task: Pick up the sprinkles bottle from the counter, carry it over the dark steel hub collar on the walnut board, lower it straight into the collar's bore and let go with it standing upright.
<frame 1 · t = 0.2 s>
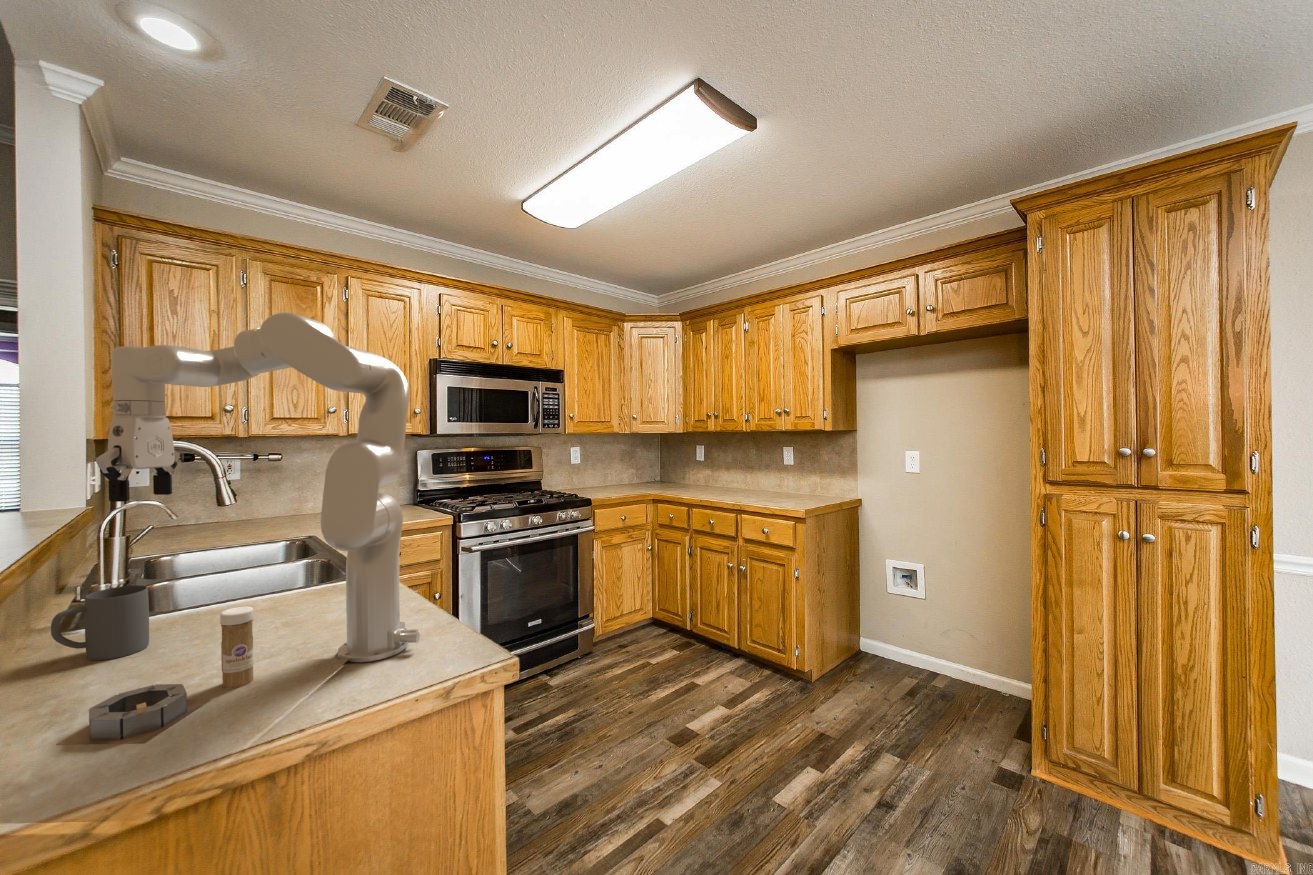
hand: (142, 497, 108), 31 cm above the counter, tool pointing down, fingers open, 9 cm apart
sprinkles bottle: (238, 687, 95), on the counter
walnut board: (139, 725, 83), on the counter
mug: (103, 656, 108), on the counter
hub collar: (139, 720, 83), resting on walnut board
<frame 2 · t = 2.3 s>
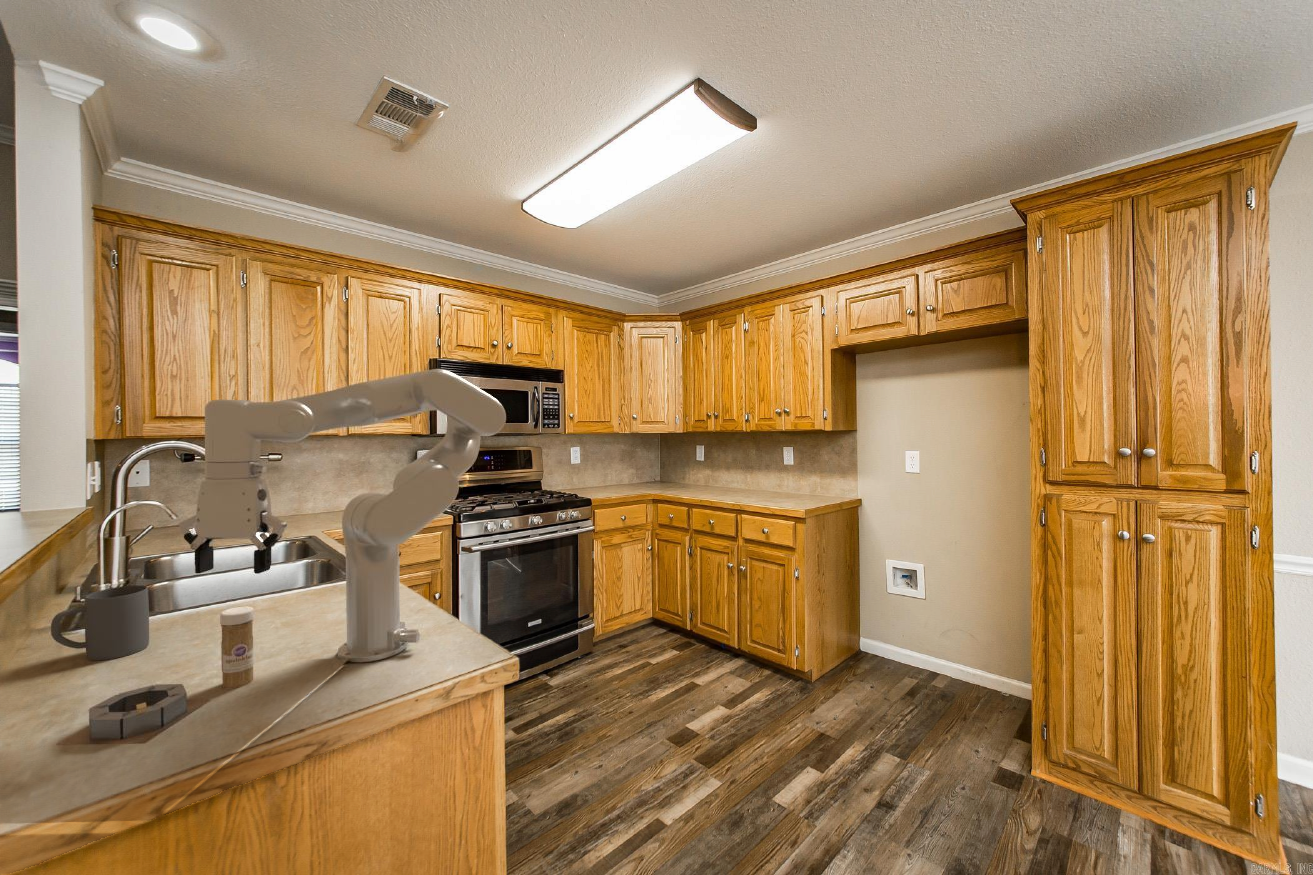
hand: (233, 571, 94), 20 cm above the counter, tool pointing down, fingers open, 9 cm apart
nothing on the counter moved.
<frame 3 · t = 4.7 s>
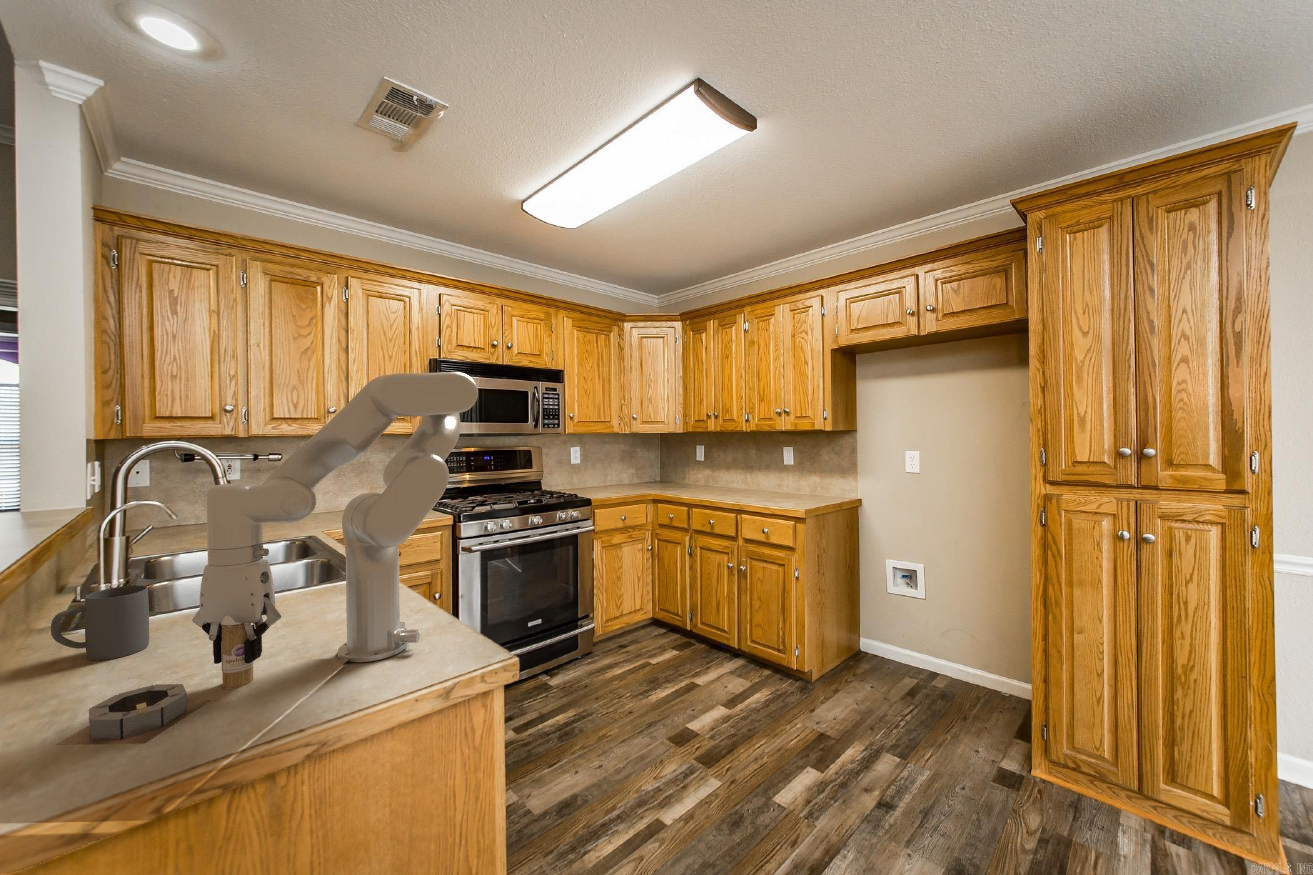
hand: (237, 659, 95), 5 cm above the counter, tool pointing down, fingers closed on sprinkles bottle, 4 cm apart
sprinkles bottle: (238, 687, 95), on the counter, touching gripper
everything else where it was.
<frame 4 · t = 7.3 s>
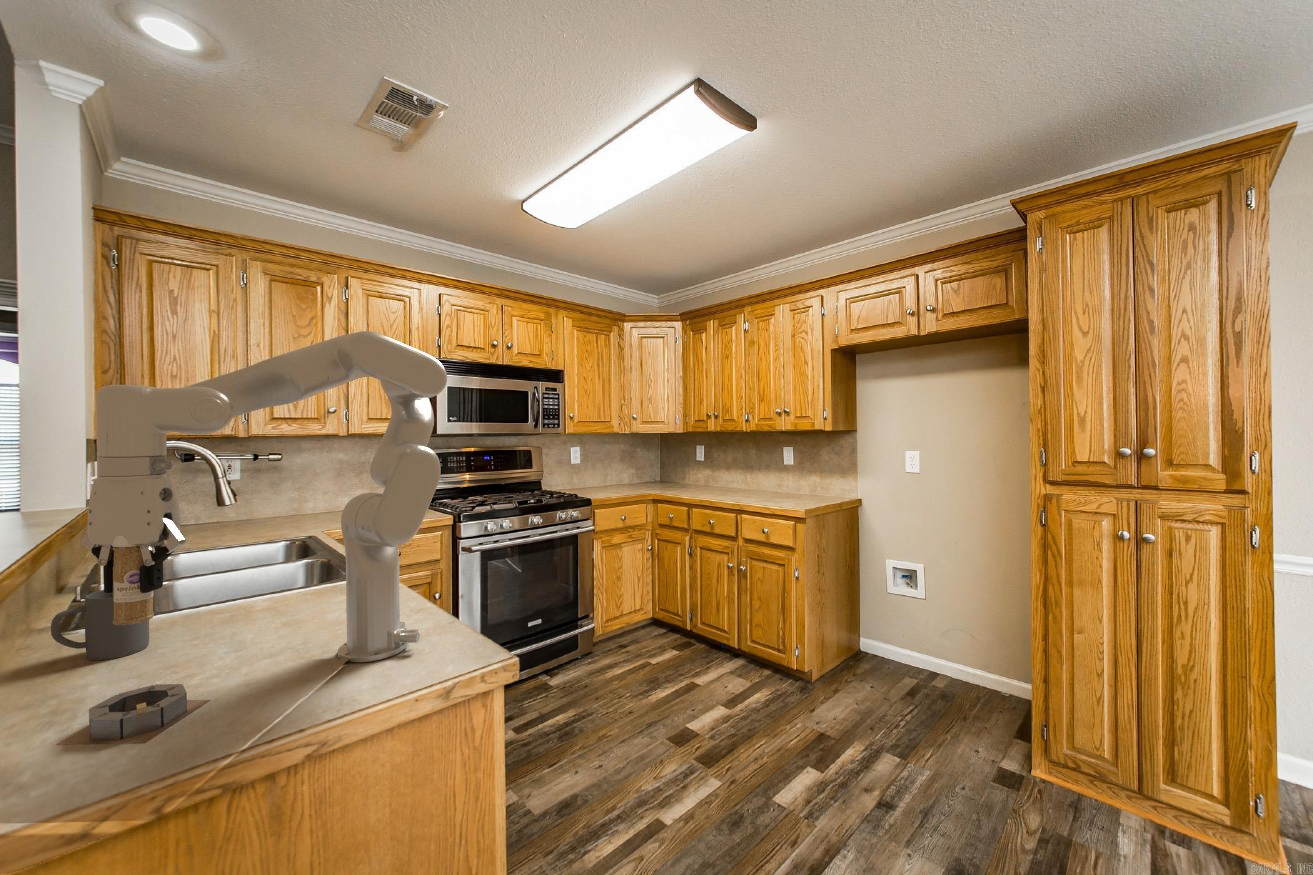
hand: (134, 588, 82), 21 cm above the counter, tool pointing down, fingers closed on sprinkles bottle, 4 cm apart
sprinkles bottle: (134, 622, 82), point 16 cm above the counter, touching gripper
everything else where it was.
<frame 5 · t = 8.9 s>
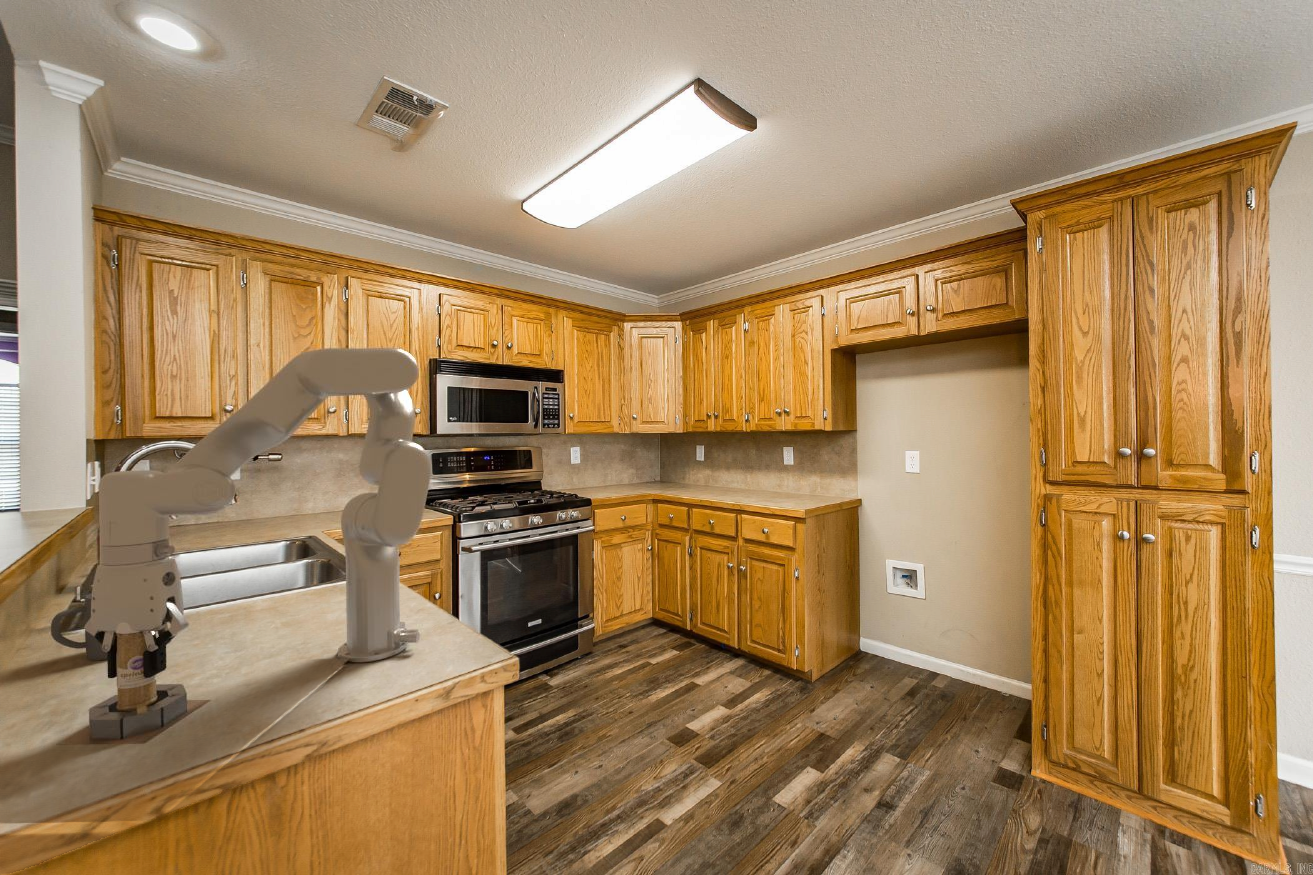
hand: (137, 672, 82), 8 cm above the counter, tool pointing down, fingers closed on sprinkles bottle, 4 cm apart
sprinkles bottle: (137, 705, 82), point 3 cm above the counter, touching gripper
everything else where it was.
when the fingers open (6 cm above the counter, at t = 10.3 s): sprinkles bottle stays where it is, resting on walnut board.
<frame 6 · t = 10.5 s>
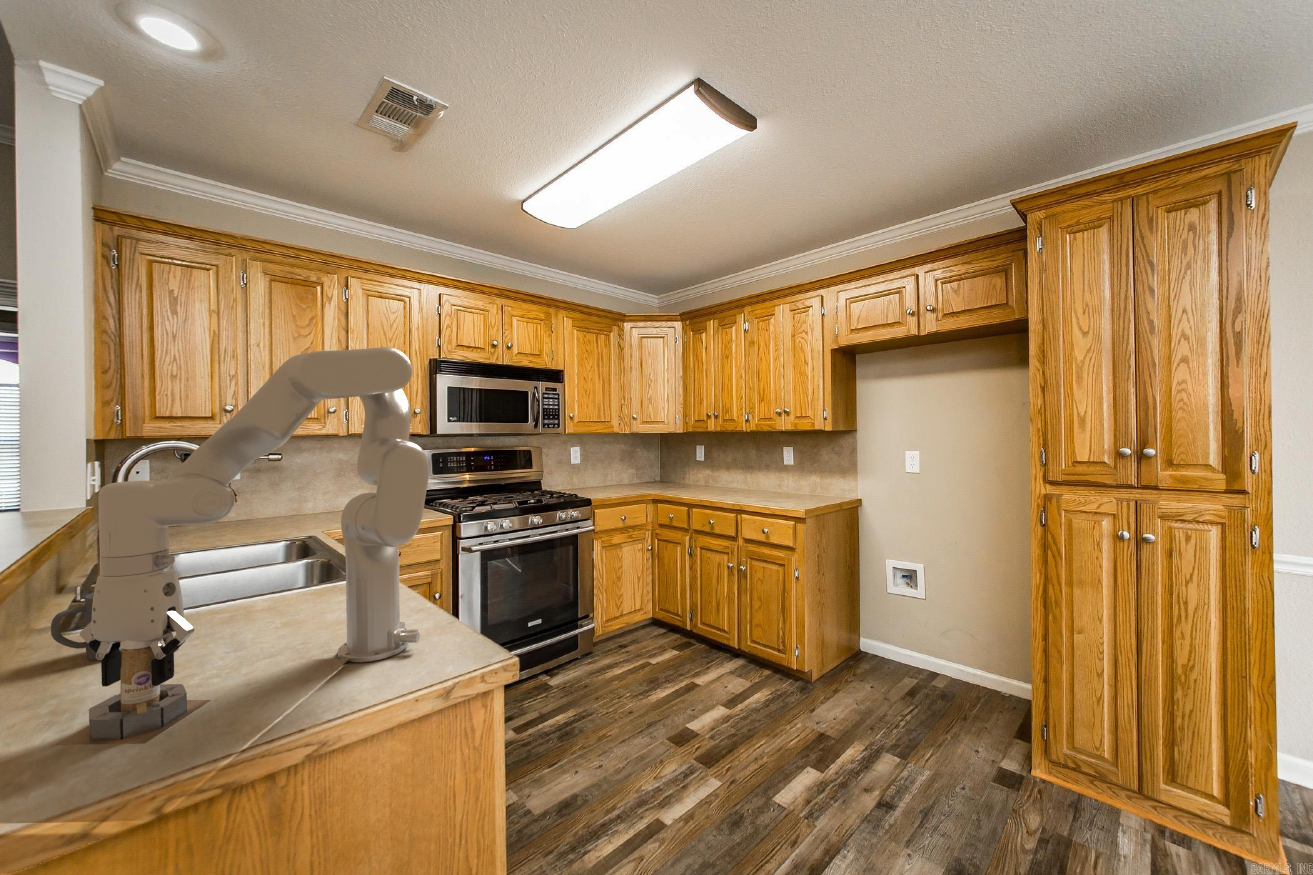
hand: (138, 680, 82), 7 cm above the counter, tool pointing down, fingers open, 6 cm apart
sprinkles bottle: (140, 720, 83), point 1 cm above the counter, touching walnut board
everything else where it was.
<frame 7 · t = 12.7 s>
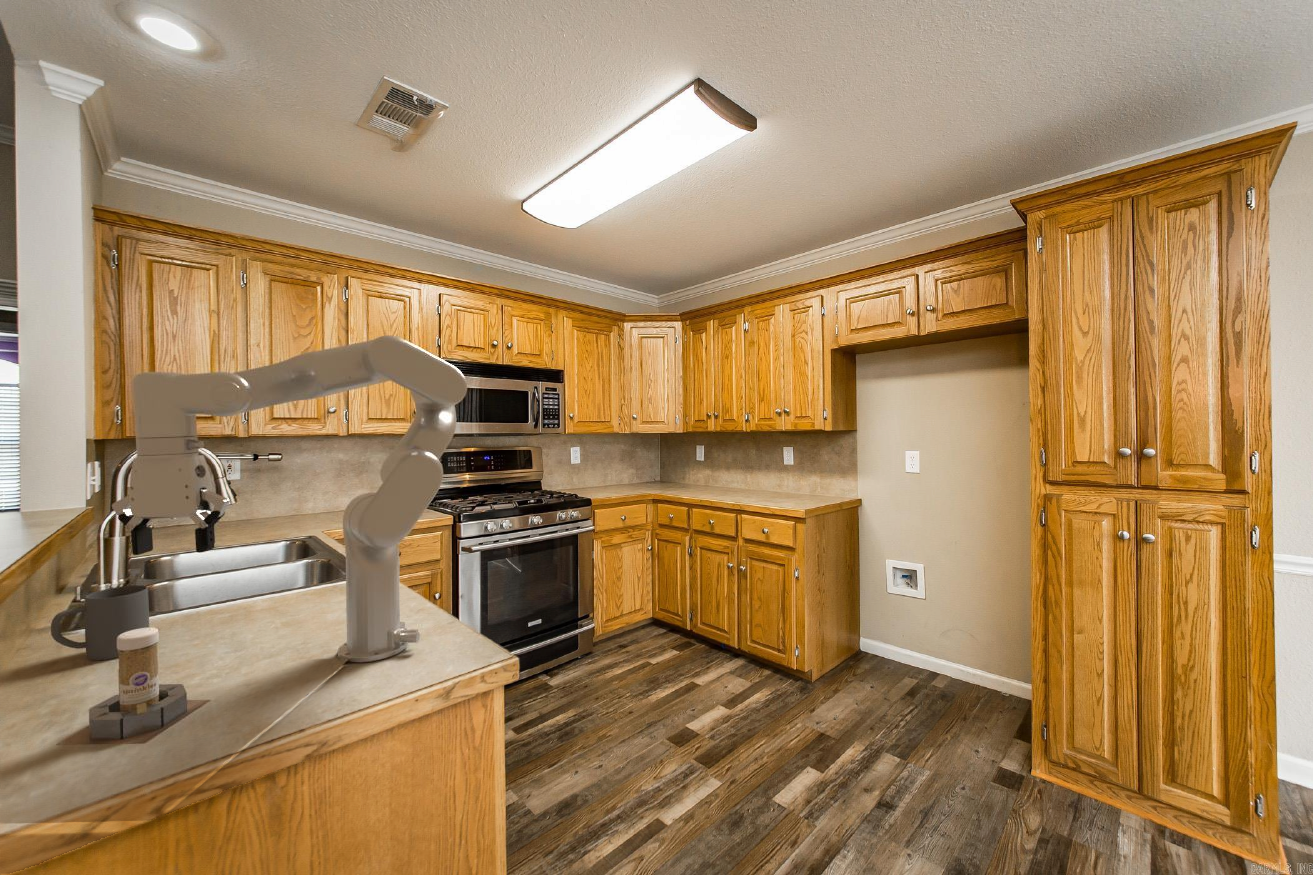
hand: (174, 551, 90), 24 cm above the counter, tool pointing down, fingers open, 9 cm apart
nothing on the counter moved.
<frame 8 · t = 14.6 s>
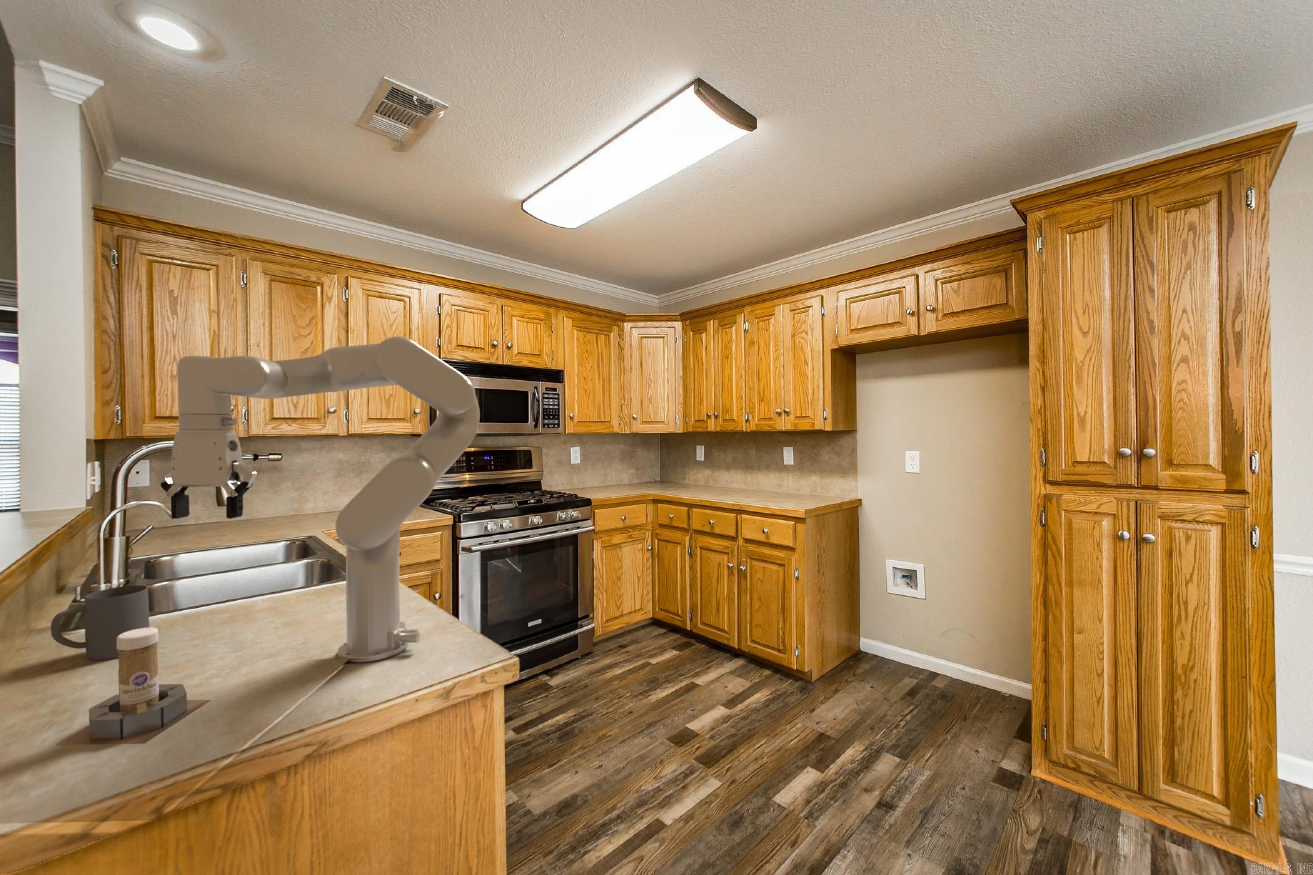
hand: (207, 517, 101), 28 cm above the counter, tool pointing down, fingers open, 9 cm apart
nothing on the counter moved.
at the end: sprinkles bottle 0.1 cm from the hub collar (horizontally); sprinkles bottle point 0.6 cm above the counter; sprinkles bottle tilted 0° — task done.
